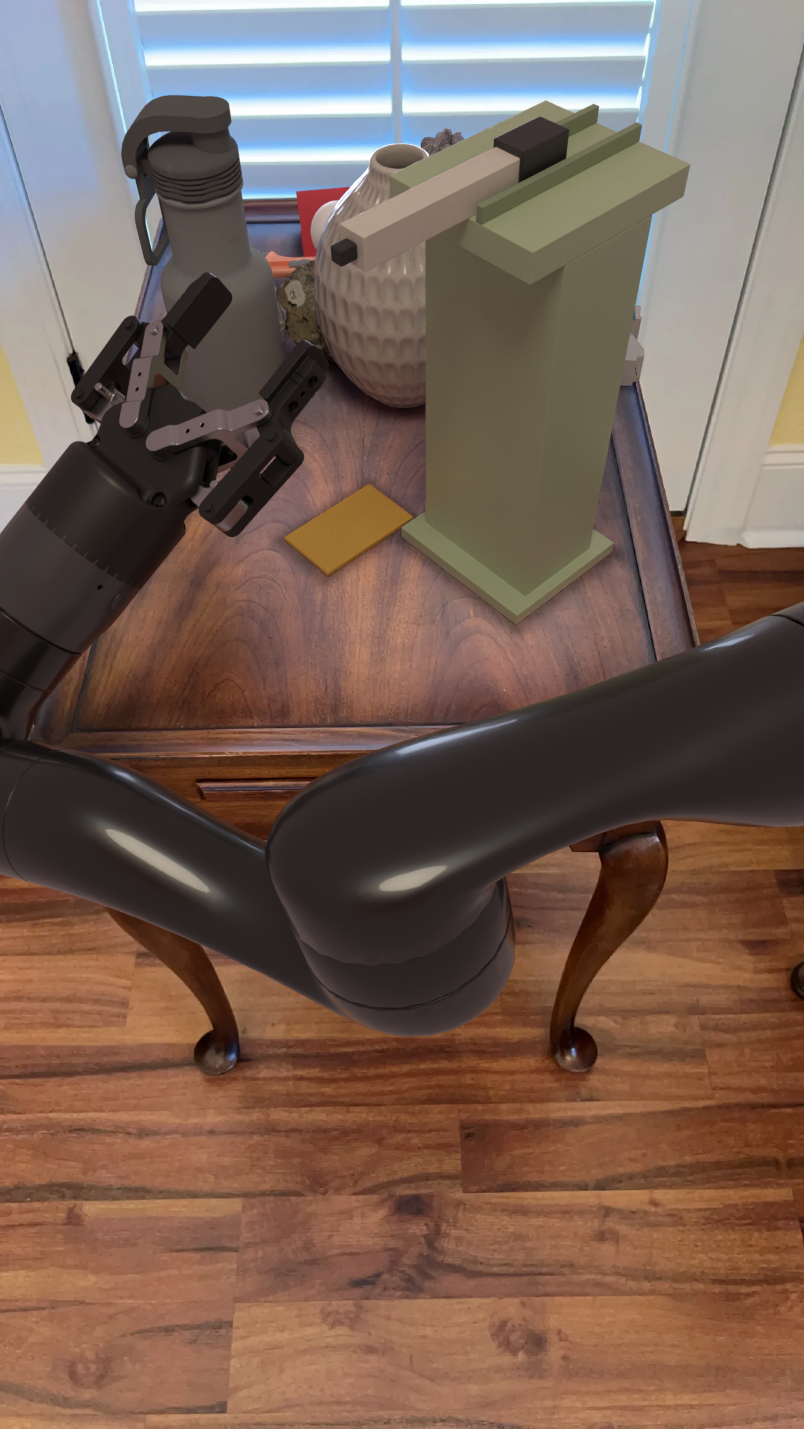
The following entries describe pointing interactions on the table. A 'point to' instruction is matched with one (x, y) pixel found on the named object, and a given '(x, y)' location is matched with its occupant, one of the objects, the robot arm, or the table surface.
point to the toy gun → (633, 352)
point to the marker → (449, 196)
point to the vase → (375, 297)
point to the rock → (302, 308)
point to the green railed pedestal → (531, 356)
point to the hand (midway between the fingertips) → (267, 315)
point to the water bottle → (206, 242)
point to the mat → (348, 529)
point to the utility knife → (284, 263)
